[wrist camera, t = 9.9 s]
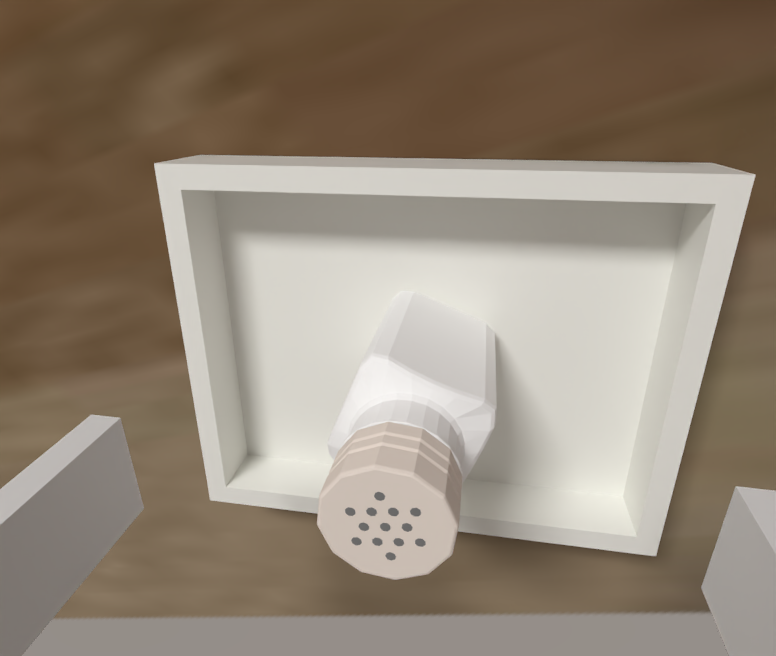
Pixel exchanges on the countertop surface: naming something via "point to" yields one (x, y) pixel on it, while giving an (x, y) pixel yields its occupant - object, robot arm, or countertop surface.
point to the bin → (467, 295)
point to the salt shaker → (409, 439)
